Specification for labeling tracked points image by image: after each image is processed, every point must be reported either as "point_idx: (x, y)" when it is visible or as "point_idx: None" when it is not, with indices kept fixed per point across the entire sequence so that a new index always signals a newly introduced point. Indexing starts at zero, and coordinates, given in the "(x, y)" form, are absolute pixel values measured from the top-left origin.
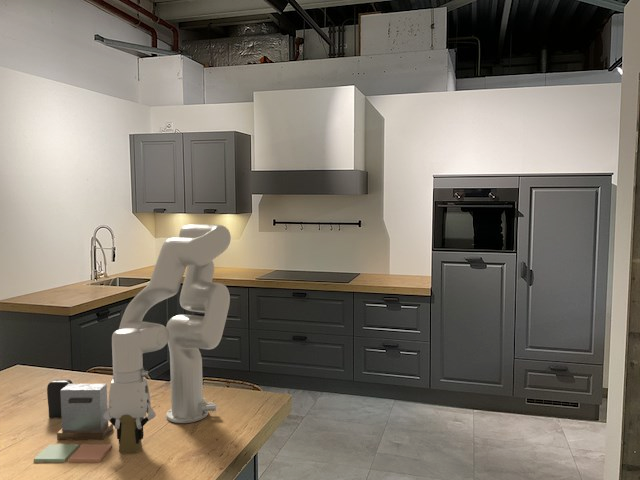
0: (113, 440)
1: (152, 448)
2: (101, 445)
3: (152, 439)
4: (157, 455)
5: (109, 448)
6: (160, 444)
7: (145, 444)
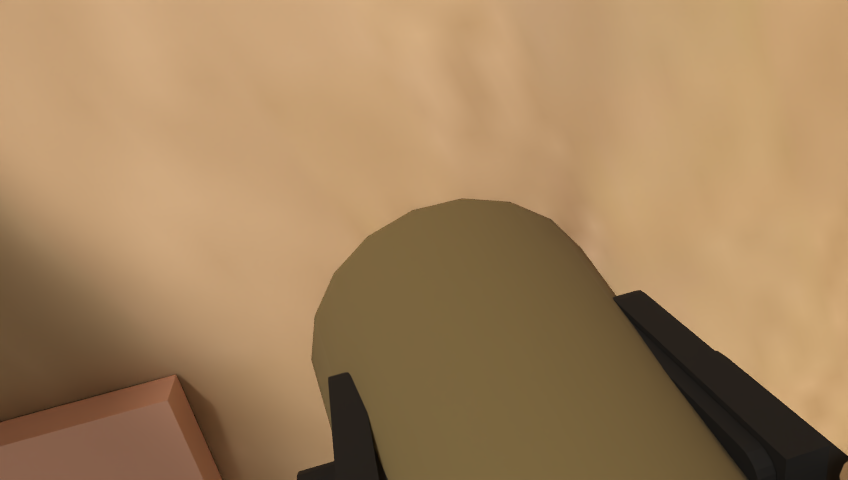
0: (14, 180)
1: (723, 255)
2: (33, 467)
3: (639, 3)
4: (816, 372)
5: (199, 451)
6: (791, 132)
7: (598, 180)
